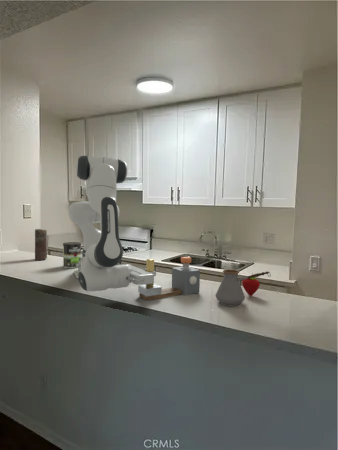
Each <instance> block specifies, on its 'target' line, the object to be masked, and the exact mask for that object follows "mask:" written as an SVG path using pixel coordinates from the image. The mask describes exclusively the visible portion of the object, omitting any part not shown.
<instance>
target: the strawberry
mask: <svg viewBox="0 0 338 450" xmlns="http://www.w3.org/2000/svg"><path fill="white" fill-rule="evenodd" d="M251 275H254V273H253V272H252V273H251ZM241 281H242V282H241V284H242V289H244V291H245V292H246V294H247V295H248V296H249V297H252V296H253V295H255V293H256V292H257V291H258V290H259V288H260V285H261V284H260V281H259V280H258V277H254V278H249V279H245V280H241Z"/></svg>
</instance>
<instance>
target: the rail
mask: <svg viewBox="0 0 338 450" xmlns="http://www.w3.org/2000/svg"><path fill="white" fill-rule="evenodd" d="M138 295H139V296H138V297H139V298H141V299H142V300H144V301H146V300H147V301H152V300H156V299H163V298H167V297H174V296H179V295H183V294H182V291H181V290H179V289H176V288H174V287H173V288H172V287H169V288H162V290H161V294H159V295H153V296H147V297H146V296H145V295H143V294H141V293H139V292H138Z"/></svg>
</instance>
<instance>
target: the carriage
mask: <svg viewBox="0 0 338 450" xmlns="http://www.w3.org/2000/svg"><path fill="white" fill-rule="evenodd" d="M145 260H146V263H145V264H146V265H145V269H146V271H147V272H151V271H155V259H154V258H148V259H145ZM137 287H138V289H137V290H138V291H137V293H138V294H139V293H141V294H143V295H145V296H146V297H147V296H153V295H159V294H161V290H162V289H163V288H162V286H161V285H159V284H157V283H155V281H154V282H153V283H152V284H143V285H137Z"/></svg>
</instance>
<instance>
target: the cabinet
mask: <svg viewBox="0 0 338 450" xmlns="http://www.w3.org/2000/svg"><path fill="white" fill-rule="evenodd" d="M200 283H201V270H200V269H198V268H194V267H191V266H189V270H183V265H182V266H176V267H171V288H173V287H174V288H176V289H179V290H181V291H182V294H181V295H184V296H187V295H192V294H193V295H194V294H199V293H200V288H201V287H200V285H201V284H200Z"/></svg>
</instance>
